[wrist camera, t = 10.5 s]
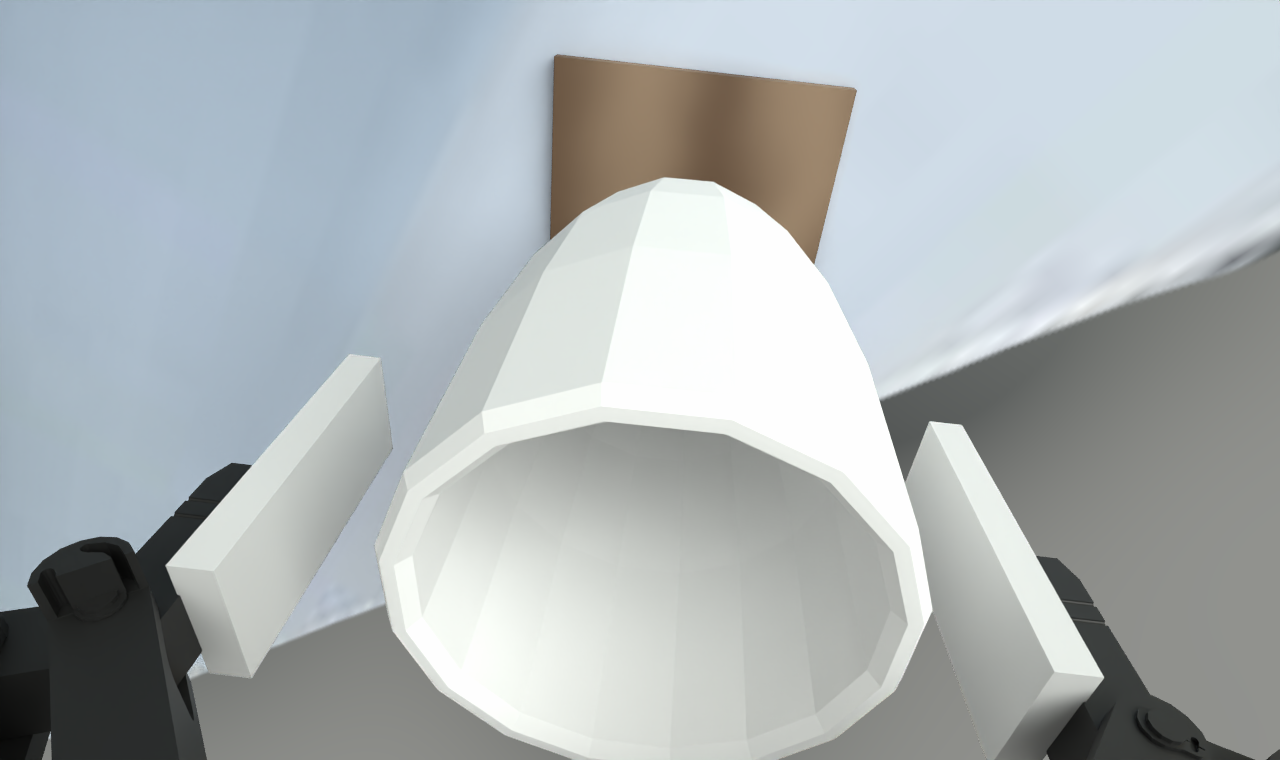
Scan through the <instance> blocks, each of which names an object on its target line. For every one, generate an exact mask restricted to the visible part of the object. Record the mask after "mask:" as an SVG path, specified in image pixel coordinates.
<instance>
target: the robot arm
mask: <svg viewBox="0 0 1280 760" xmlns="http://www.w3.org/2000/svg"><path fill="white" fill-rule="evenodd" d="M392 449H393V446H392V439H391V431H390V423H389V416H388V408H387V401H386V393H385V385H384V378H383V370H382V362H381V358H378V357H370V356H361V355H352V354H349V355H348V356H347V357H346V358H345V359H344V361H343V362H342V363H341V364H340V365H339V366H338V368H337V369H336V370H335V371H334V372H333V373H332V374H331V376H330V377H329V378H328V379H327V380H326V381H325V383H324V384H323V385H322V386H321V387H320V388H319V389H318V391H317V392H316V393H315V394H314V395H313V396H312V397H311V399H310V400H309V401H308V402H307V403H306V404H305V406H304V407H303V408H302V409H301V410H300V411H299V412H298V414H297V415H296V416H295V417H294V418H293V419H292V420H291V422H290V423H289V424H288V425H287V426H286V427H285V429H284V430H283V431H282V432H281V433H280V434H279V435H278V437H277V438H276V439H275V440H274V441H273V442H272V444H271V445H270V446H269V447H268V448H267V449H266V450H265V452H264V453H263V454H262V455H261V456H260V457H259V458H258V460H257V461H256V462H255V463H254V464H253V465H246V464H237V463H231V464H229V465H228V466H226V467H224V468H223V469H221V470H219V471H218V472H216V473H214V474H213V475H211V476H209V477H208V478H206V479H205V480H204V481H203V482H202V484H201V485H200V486H199V487H198V488H197V489H196V490H195V491H194V492H193V493H192V494H191V495H190V496H189V500H188V501H185V502H184V503H183V504H182V505H181V506H180V507H179V508H178V509H177V510H176V511H175V514H174V516H171V517H170V518H169V519H168V520H167V521H166V522H165V523H164V524H163V525H162V526H161V527H160V528H159V530H158V531H157V532H156V533H155V534H154V535H153V536H152V537H151V538H150V539H149V540H148V541H147V542H146V543H145V544H144V546H143V547H142V548H141V549H140V550H139V551H138V552H137V553H136V554H135V552H134V550H133V549H132V547H131V545H130V544H129V542H127V541H124V540H122V539H119V538H117V537H97V538H92V539H87V540H82V541H79V542H76V543H74V544H71V545H69V546H66V547H64V548H62V549H60V550H58V551H57V552H55V553H54V554H52V555H51V556H49V557H47V558H46V559H44V560H43V561H42V562H41V563H40V564H39V566H38V567H37V568H36V569H35V570H34V571H33V572H32V573H31V576H30V579H29V582H28V585H27V586H28V588H29V590H30V592H31V593H32V595H33V597H34V599H35V600H36V602H37V604H38V606H39V607H33V608H26V609H18V610H11V611H4V612H0V760H42V757H43V754H44V751H45V747H46V744H47V741H48V737H49V734H50V731H51V748H52V760H207V758H206V753H205V748H204V743H203V738H202V734H201V729H200V724H199V719H198V714H197V709H196V704H195V699H194V694H193V690H192V685H191V681H190V679H189V677H188V674H187V672H188V670H189V669H190V668H191V666H192V665H193V663H194V662H195V661H196V659H197V658H198V656H199V655H200V653H201V654H202V657H203V659H204V662H205V664H206V667H207V669H208V672H209V673H212V674H220V675H229V676H237V677H245V678H252V677H253V675H254V674H255V672H256V670H257V669H258V667H259V666H260V664H261V662H262V660H263V659H264V657H265V656H266V654H267V652H268V651H269V649H270V648H271V646H272V644H273V643H274V641H275V639H276V638H277V636H278V635H279V633H280V631H281V630H282V628H283V626H284V625H285V623H286V622H287V620H288V618H289V617H290V615H291V613H292V612H293V610H294V609H295V607H296V605H297V604H298V602H299V600H300V599H301V597H302V596H303V594H304V592H305V591H306V589H307V587H308V586H309V584H310V583H311V581H312V579H313V578H314V576H315V574H316V573H317V571H318V570H319V568H320V566H321V565H322V563H323V561H324V560H325V558H326V556H327V555H328V553H329V552H330V550H331V548H332V547H333V545H334V543H335V542H336V540H337V539H338V537H339V535H340V534H341V532H342V530H343V529H344V527H345V526H346V524H347V522H348V521H349V519H350V517H351V516H352V514H353V513H354V511H355V509H356V508H357V506H358V504H359V503H360V501H361V500H362V498H363V496H364V495H365V493H366V491H367V490H368V488H369V487H370V485H371V483H372V482H373V480H374V478H375V477H376V475H377V474H378V472H379V470H380V469H381V467H382V465H383V464H384V462H385V460H386V459H387V457H388V456H389V454H390V452H391V451H392ZM905 486H906V489H907V493H908V496H909V499H910V502H911V506H912V509H913V512H914V515H915V519H916V522H917V525H918V528H919V534H920V540H921V546H922V551H923V557H924V563H925V569H926V575H927V581H928V586H929V592H930V598H931V604H932V610H933V613H934V616H935V619H936V622H937V624H938V627H939V629H940V633H941V635H942V638H943V641H944V644H945V646H946V649H947V652H948V655H949V658H950V661H951V663H952V666H953V669H954V672H955V674H956V677H957V680H958V683H959V685H960V688H961V691H962V694H963V697H964V699H965V702H966V705H967V708H968V711H969V713H970V716H971V719H972V722H973V724H974V727H975V730H976V733H977V735H978V738H979V741H980V744H981V747H982V750H983V752H984V755H985V758H986V760H1043V758H1044V757H1045V756H1046V754H1048V757H1049V759H1050V760H1254V759H1251V758H1249V757H1246V756H1244V755H1241V754H1239V753H1236V752H1233V751H1231V750H1228V749H1226V748H1223V747H1220V746H1218V745H1215V744H1213V743H1211V742H1208V741H1206V739H1205V737H1204V735H1203V734H1202V732H1201V731H1200V730H1199V729H1198V728H1197V726H1196V725H1195V724H1194V723H1193V722H1192V721H1191V720H1190V719H1189V718H1188V717H1187V716H1186V715H1184V714H1183V713H1182V712H1180V711H1179V710H1178V709H1176V708H1175V707H1173V706H1172V705H1171V704H1169V703H1167V702H1165V701H1163V700H1160V699H1159V698H1156V697H1154V696H1152V695H1150V694H1149V692H1148V690H1147V689H1146V687H1145V686H1144V684H1143V682H1142V681H1141V679H1140V677H1139V676H1138V674H1137V672H1136V671H1135V669H1134V668H1133V666H1132V664H1131V663H1130V661H1129V660H1128V658H1127V656H1126V655H1125V653H1124V651H1123V650H1122V648H1121V646H1120V645H1119V643H1118V641H1117V640H1116V638H1115V637H1114V635H1113V633H1112V632H1111V630H1110V629H1109V627H1108V626H1105V620H1104V619H1103V617H1102V615H1101V614H1100V612H1099V611H1098V609H1097V607H1094V606H1093V601H1092V599H1091V597H1090V596H1089V594H1088V592H1087V591H1086V589H1085V588H1084V586H1083V584H1082V583H1081V581H1080V580H1079V579H1078V578H1077V577H1076V576H1075V575H1074V574H1073V573H1072V572H1071V571H1070V570H1069V569H1068V568H1067V567H1066V566H1064V565H1063V564H1062V563H1061V562H1060V561H1059V560H1058V559H1057V558H1048V557H1040V556H1035V554H1034V552H1033V550H1032V549H1031V547H1030V545H1029V543H1028V541H1027V540H1026V538H1025V536H1024V535H1023V533H1022V531H1021V529H1020V527H1019V526H1018V524H1017V522H1016V520H1015V518H1014V517H1013V515H1012V514H1011V511H1010V510H1009V508H1008V506H1007V504H1006V502H1005V501H1004V499H1003V497H1002V495H1001V494H1000V492H999V490H998V488H997V486H996V485H995V483H994V481H993V479H992V478H991V476H990V474H989V473H988V471H987V469H986V467H985V465H984V464H983V462H982V460H981V458H980V456H979V455H978V453H977V451H976V449H975V448H974V446H973V444H972V442H971V441H970V439H969V437H968V435H967V433H966V431H965V430H964V428H963V426H962V425H957V424H948V423H939V422H931V421H930V422H929V424H928V427H927V429H926V432H925V434H924V437H923V439H922V442H921V444H920V447H919V450H918V452H917V455H916V457H915V460H914V462H913V465H912V467H911V470H910V472H909V475H908V477H907V480H906V482H905ZM1267 760H1280V750H1278V751H1277V752H1275V753H1274V754H1272V755H1271V756H1270V757H1269V758H1268V759H1267Z"/></svg>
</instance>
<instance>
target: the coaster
mask: <svg viewBox="0 0 1280 760" xmlns="http://www.w3.org/2000/svg"><path fill="white" fill-rule="evenodd" d="M856 92H857V90H856V89H855V88H849V87H840V86H831V85H823V84H814V83H805V82H796V81H787V80H778V79H770V78H761V77H752V76H743V75H734V74H726V73H717V72H708V71H699V70H690V69H681V68H673V67H664V66H655V65H646V64H637V63H628V62H620V61H611V60H602V59H593V58H584V57H575V56H567V55H558V54H557V55H556V56H554V94H553V140H552V185H551V231H550V240H551V239H552V238H553V237H554V236H556V235H557V234H558V233H559V232H560V231H561V230H562V229H564V228H565V227H566V226H567V225H568V224H569V223H571V222H572V221H573V220H574V219H575V218H576V217H577V216H579V215H580V214H581V213H582V212H583V211H585V210H587V209H588V208H590V207H592V206H594V205H596V204H597V203H599V202H601V201H603V200H604V199H606V198H608V197H610V196H611V195H613V194H615V193H617V192H619V191H622V190H625V189H628V188H632V187H635V186H638V185H641V184H644V183H647V182H651V181H654V180H657V179H660V178H663V177H666V178H677V179H688V180H699V181H710V182H715V183H716V184H718V185H720V186H722V187H724V188H726V189H728V190H730V191H731V192H733V193H735V194H737V195H739V196H741V197H743V198H745V199H746V200H748V201H750V202H752V203H754V204H756V205H757V206H758V207H759V208H761V209H762V210H763V211H764V212H765V213H767V214H768V215H769V216H770V217H771V218H773V219H774V220H775V221H776V222H777V223H779V224H780V225H781V226H782V227H783V228H785V229H786V230H787V231H788V232H789V234H790V235H791V236H792V237H793V239H794V240H795V241H796V243H797V244H798V245H799V246H800V248H801V249H802V250H803V252H804V253H805V254H806V255H807V257H808V258H809V259H810V261H811V262H812V263H813V264H814V263H815V259H816V255H817V251H818V246H819V242H820V238H821V234H822V230H823V226H824V222H825V218H826V214H827V210H828V206H829V202H830V198H831V193H832V189H833V185H834V181H835V177H836V173H837V169H838V165H839V161H840V157H841V153H842V149H843V145H844V141H845V136H846V132H847V128H848V124H849V120H850V116H851V112H852V108H853V104H854V100H855V96H856Z"/></svg>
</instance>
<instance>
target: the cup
mask: <svg viewBox="0 0 1280 760" xmlns="http://www.w3.org/2000/svg"><path fill="white" fill-rule="evenodd" d="M374 547H375V552H376V557H377V562H378V567H379V572H380V577H381V582H382V587H383V592H384V597H385V602H386V607H387V612H388V617H389V621H390V624H391V627H392V630H393V632H394V633H395V635H396V636H397V637H398V639H399V640H400V641H401V643H402V644H403V645H404V646H405V648H406V649H407V650H408V652H409V653H410V654H411V655H412V657H413V658H414V659H415V661H416V662H417V663H418V665H419V666H420V667H421V669H422V670H423V671H424V672H425V674H426V675H427V676H428V678H429V679H430V680H431V682H432V683H433V684H434V685H435V687H436V688H437V689H438V690H439V691H440V692H441V693H443V694H445V695H446V696H448V697H449V698H450V699H452V700H453V701H455V702H456V703H458V704H459V705H461V706H462V707H464V708H465V709H467V710H468V711H470V712H472V713H473V714H474V715H476V716H477V717H479V718H480V719H482V720H483V721H485V722H486V723H488V724H489V725H491V726H492V727H494V728H495V729H497V730H498V731H500V732H501V733H503V734H504V735H506V736H509V737H512V738H514V739H517V740H520V741H523V742H526V743H529V744H531V745H534V746H537V747H540V748H542V749H545V750H548V751H551V752H554V753H557V754H559V755H562V756H565V757H568V758H571V759H573V760H777V759H780V758H783V757H785V756H789V755H791V754H794V753H797V752H800V751H803V750H805V749H808V748H811V747H814V746H817V745H819V744H822V743H825V742H828V741H830V740H833V739H835V738H837V737H838V736H839V735H840V734H842V733H843V732H844V731H845V730H846V729H848V728H849V727H850V726H852V725H853V724H854V723H855V722H857V721H858V720H859V719H860V718H862V717H863V716H864V715H865V714H867V713H868V712H869V711H870V710H872V709H873V708H874V707H875V706H877V705H878V704H879V703H880V702H882V701H883V700H884V699H885V698H887V697H888V696H889V695H890V694H892V693H893V692H894V691H895V689H896V688H897V686H898V684H899V682H900V680H901V679H902V677H903V674H904V672H905V670H906V668H907V666H908V663H909V661H910V659H911V656H912V654H913V652H914V650H915V648H916V645H917V643H918V641H919V638H920V636H921V634H922V632H923V630H924V627H925V625H926V622H927V620H928V619H929V616H930V614H931V612H932V604H931V598H930V592H929V586H928V581H927V575H926V569H925V563H924V557H923V551H922V546H921V540H920V534H919V528H918V525H917V522H916V519H915V515H914V512H913V509H912V506H911V502H910V499H909V496H908V493H907V489H906V486H905V483H904V480H903V476H902V473H901V470H900V467H899V464H898V460H897V457H896V454H895V450H894V447H893V444H892V441H891V437H890V434H889V431H888V428H887V424H886V421H885V418H884V415H883V411H882V409H881V405H880V402H879V398H878V395H877V392H876V389H875V385H874V382H873V379H872V376H871V372H870V369H869V366H868V363H867V361H866V359H865V357H864V355H863V353H862V351H861V349H860V347H859V345H858V343H857V341H856V339H855V337H854V335H853V333H852V331H851V329H850V327H849V325H848V323H847V321H846V319H845V317H844V315H843V313H842V311H841V308H840V306H839V304H838V302H837V300H836V298H835V296H834V294H833V292H832V290H831V288H830V286H829V284H828V282H827V281H826V280H825V279H824V277H823V276H822V275H821V273H820V272H819V271H818V270H817V268H816V267H815V266H814V264H813V263H812V262H811V261H810V259H809V258H808V257H807V255H806V254H805V253H804V252H803V250H802V249H801V248H800V246H799V245H798V244H797V243H796V241H795V240H794V239H793V237H792V236H791V235H790V234H789V232H788V231H787V230H786V229H785V228H783V227H782V226H781V225H780V224H779V223H777V222H776V221H775V220H774V219H773V218H771V217H770V216H769V215H768V214H767V213H765V212H764V211H763V210H762V209H761V208H759V207H758V206H757V205H756V204H754V203H752V202H750V201H748V200H746V199H745V198H743V197H741V196H739V195H737V194H735V193H733V192H731V191H730V190H728V189H726V188H724V187H722V186H720V185H718V184H716V183H715V182H710V181H699V180H688V179H677V178H666V177H663V178H660V179H657V180H654V181H651V182H647V183H644V184H641V185H638V186H635V187H632V188H628V189H625V190H622V191H619V192H617V193H615V194H613V195H611V196H610V197H608V198H606V199H604V200H603V201H601V202H599V203H597V204H596V205H594V206H592V207H590V208H588V209H587V210H585V211H583V212H582V213H581V214H580V215H579V216H577V217H576V218H575V219H574V220H573V221H572V222H571V223H569V224H568V225H567V226H566V227H565V228H564V229H562V230H561V231H560V232H559V233H558V234H557V235H556V236H554V237H553V238H552V239H551V240H550V241H549V242H548V243H546V244H545V245H544V246H543V247H542V248H541V249H540V250H538V251H537V252H536V253H535V254H534V255H533V256H532V258H531V259H530V260H529V262H528V263H527V264H526V266H525V267H524V268H523V270H522V271H521V272H520V274H519V275H518V276H517V278H516V279H515V280H514V282H513V283H512V284H511V286H510V287H509V288H508V290H507V291H506V292H505V294H504V295H503V296H502V298H501V299H500V300H499V302H498V303H497V304H496V306H495V307H494V308H493V310H492V311H491V312H490V314H489V315H488V316H487V318H486V319H485V320H484V322H483V323H482V324H481V326H480V328H479V330H478V332H477V333H476V335H475V337H474V339H473V341H472V343H471V345H470V347H469V349H468V350H467V352H466V354H465V356H464V358H463V360H462V362H461V364H460V366H459V368H458V369H457V371H456V373H455V375H454V377H453V379H452V381H451V383H450V385H449V386H448V388H447V390H446V392H445V394H444V396H443V398H442V400H441V402H440V403H439V405H438V407H437V409H436V411H435V413H434V415H433V417H432V419H431V421H430V422H429V424H428V426H427V428H426V430H425V432H424V434H423V436H422V438H421V439H420V441H419V443H418V445H417V447H416V449H415V451H414V453H413V455H412V456H411V458H410V460H409V462H408V464H407V466H406V468H405V470H404V472H403V474H402V477H401V479H400V482H399V484H398V487H397V489H396V492H395V494H394V497H393V499H392V502H391V504H390V507H389V509H388V512H387V515H386V517H385V520H384V522H383V525H382V527H381V530H380V532H379V535H378V537H377V540H376V542H375V545H374Z"/></svg>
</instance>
